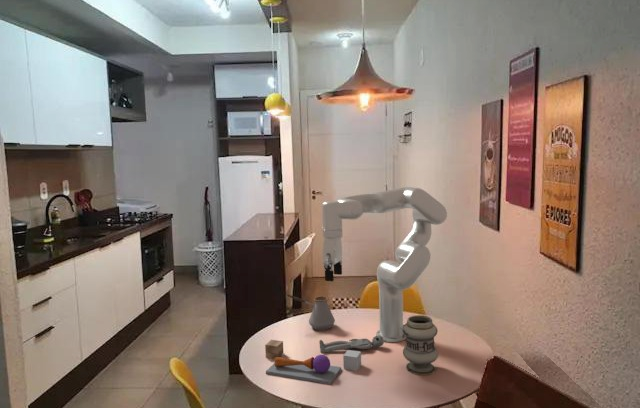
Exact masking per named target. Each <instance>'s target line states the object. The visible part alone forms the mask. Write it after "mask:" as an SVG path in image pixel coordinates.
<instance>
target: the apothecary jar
mask: <svg viewBox="0 0 640 408" xmlns="http://www.w3.org/2000/svg"><path fill="white" fill-rule="evenodd" d="M406 320H407V321H406V323H405V324H403V325H404V326H403V333H404V334H405V335H406V339H405V342H406V344H405V346H404V348H403V349H402V355H403V357H404V358H405V359H406V360H407V361H408V363H407V364H406V366H405V367H406V370H407V371H408V372H411V373H412V374H414V375H417V376H427V375H428V376H429V375H431V374H433V373H435V372H436V367H435V366H434V364H432V363H434V362H435V361H437V359H438V357H439V351H438V349H437V347H435V337H436V336H437V335H438V328H437V326H436V325H435V324H434V323H433V319H432V318H431V317H430V316H428V315H422V314H417V315H410V316H408V318H407V319H406Z"/></svg>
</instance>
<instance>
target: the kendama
mask: <svg viewBox="0 0 640 408" xmlns="http://www.w3.org/2000/svg"><path fill="white" fill-rule="evenodd" d="M273 364H275V366H276V367H279V366H292V365H305V366H306V367H308V368H310V369H311V370H313V369H315V370H316V371H317V372H318V373H324V372H327V370H328V369H329V368H330V365H331V360H330V359H329V357H328V356H327V355H326V354H325V355H324V354H318V355H316V356H315V357H313V356H312V357H309V358H307V359H305V360H299V359H291V358H287V357H285V358H284V357H281V356H280V357H276V358H275V359H274V363H273Z"/></svg>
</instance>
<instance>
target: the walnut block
mask: <svg viewBox="0 0 640 408" xmlns="http://www.w3.org/2000/svg"><path fill="white" fill-rule="evenodd" d="M264 347H265V348H264V349H265V358H267V359H268V358H269V359H273V360H275V358H276V357H280V358H281V357H282V356H283V355H284V341H283V340H278V339H277V340H276V339H271V340H269V341H268V342H267V343H265V345H264Z"/></svg>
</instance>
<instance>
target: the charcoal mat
mask: <svg viewBox="0 0 640 408" xmlns="http://www.w3.org/2000/svg"><path fill="white" fill-rule="evenodd" d="M341 371H342V367H341V366H337V365H331V364H330V368H329V369H328V370H327V372H324V373H318V372H317V371H316V370H315V369H313V370H311V369H310V368H308V367H306V366H305V365H292V366H279V367H276V366H275V364H274V363H273V364H272V365H271V366H270V367H268V368H267V370H265V375H270V376H271V375H272V376H276V377H277V376H278V377H284V378H287V379H288V378H289V379H296V380H301V381H308V382H313V383H319V384H324V385H325V384H326V385H332V384H333V382H334V380H335V379H336V377H338V375H339V374H340V372H341Z"/></svg>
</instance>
